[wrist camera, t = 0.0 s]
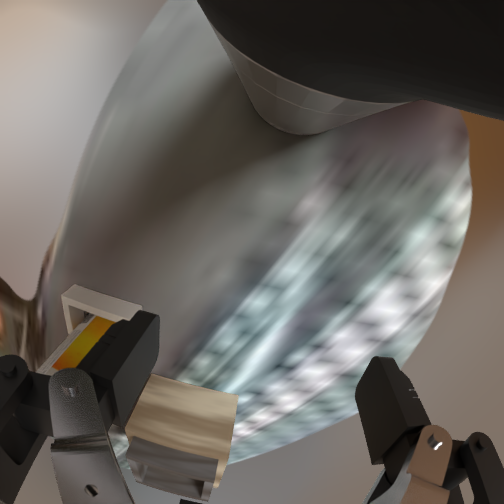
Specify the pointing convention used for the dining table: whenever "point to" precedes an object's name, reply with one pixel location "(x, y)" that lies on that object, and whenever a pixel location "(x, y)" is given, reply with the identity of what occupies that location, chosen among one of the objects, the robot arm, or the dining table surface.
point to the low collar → (94, 306)
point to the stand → (180, 437)
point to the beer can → (76, 344)
